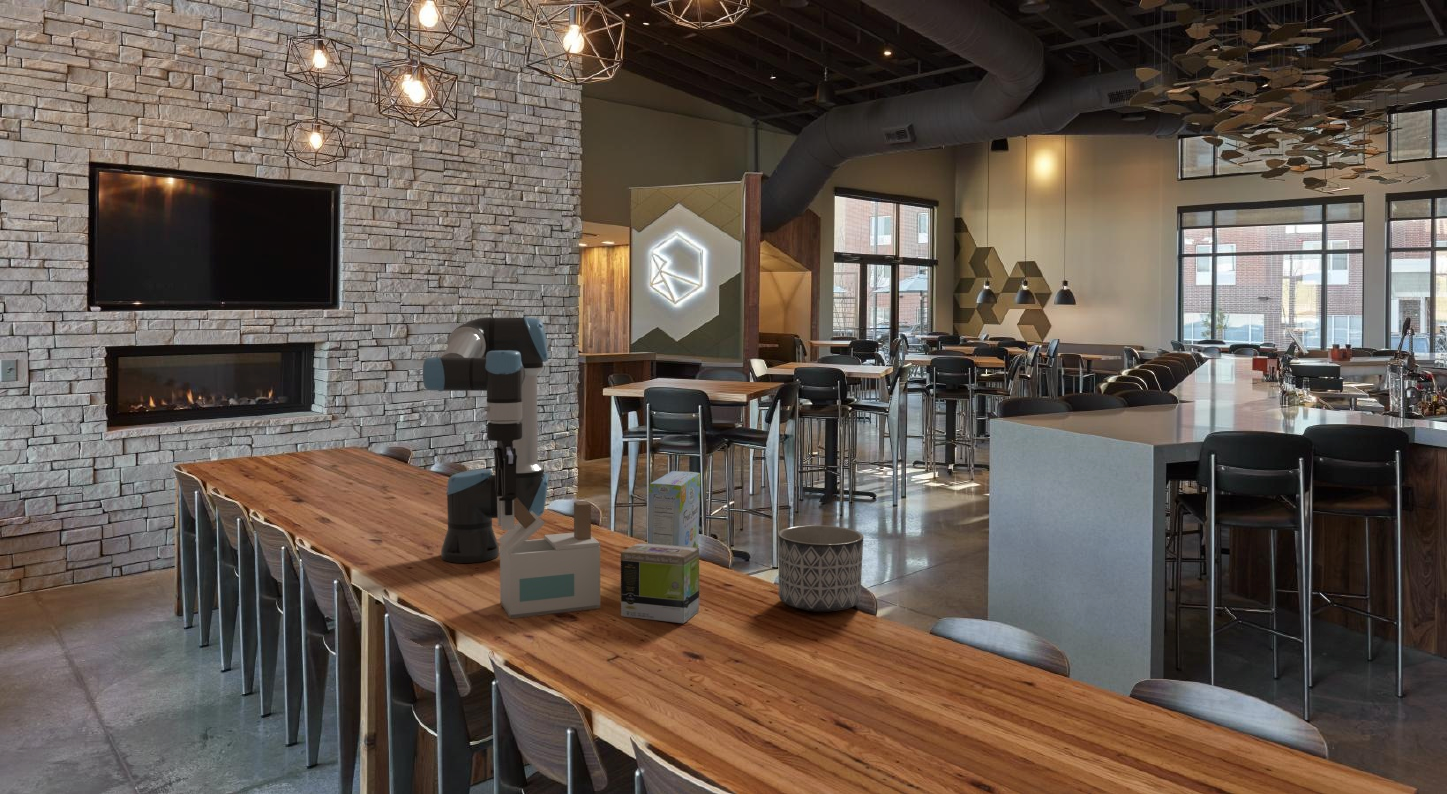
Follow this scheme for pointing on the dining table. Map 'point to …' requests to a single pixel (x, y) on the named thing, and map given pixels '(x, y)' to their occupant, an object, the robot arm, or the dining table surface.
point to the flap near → (521, 527)
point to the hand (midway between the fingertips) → (506, 526)
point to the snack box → (674, 509)
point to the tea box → (660, 582)
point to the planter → (820, 567)
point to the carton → (553, 571)
